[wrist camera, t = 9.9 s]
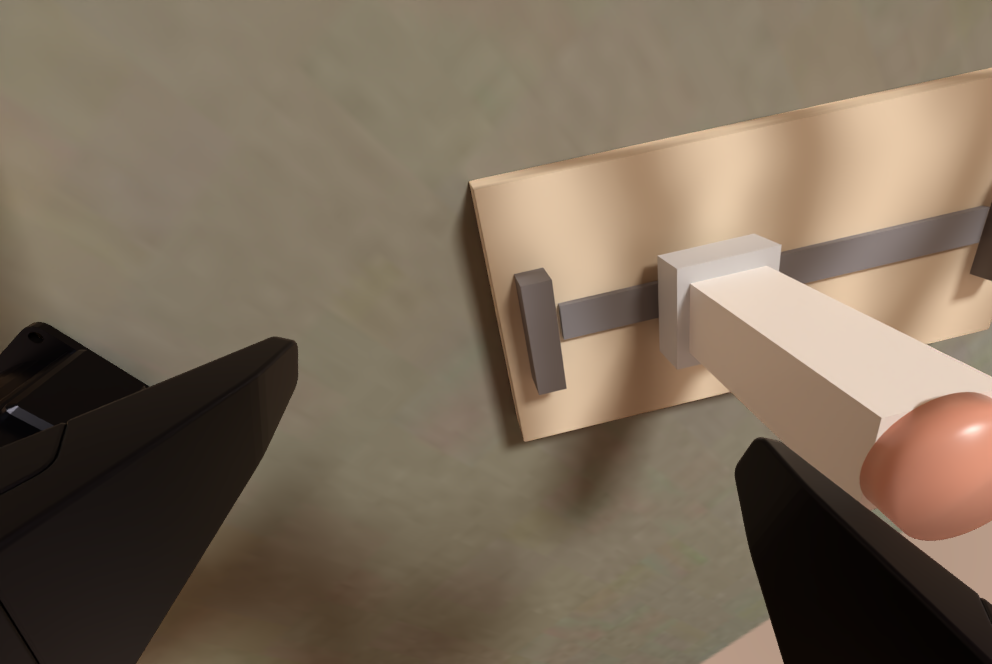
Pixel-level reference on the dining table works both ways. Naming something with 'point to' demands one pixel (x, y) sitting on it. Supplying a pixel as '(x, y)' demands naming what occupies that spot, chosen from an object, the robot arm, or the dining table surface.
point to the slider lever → (835, 385)
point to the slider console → (730, 214)
